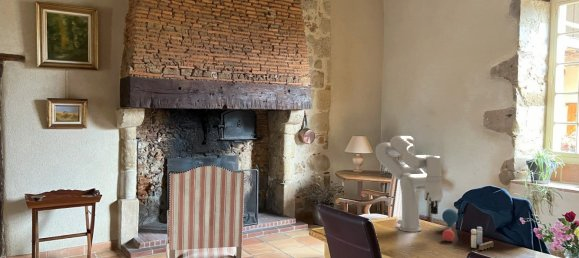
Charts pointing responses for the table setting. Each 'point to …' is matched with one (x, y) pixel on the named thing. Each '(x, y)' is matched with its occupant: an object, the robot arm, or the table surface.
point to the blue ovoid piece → (450, 217)
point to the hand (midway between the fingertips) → (434, 213)
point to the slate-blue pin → (479, 235)
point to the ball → (448, 235)
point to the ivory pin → (473, 238)
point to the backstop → (486, 245)
